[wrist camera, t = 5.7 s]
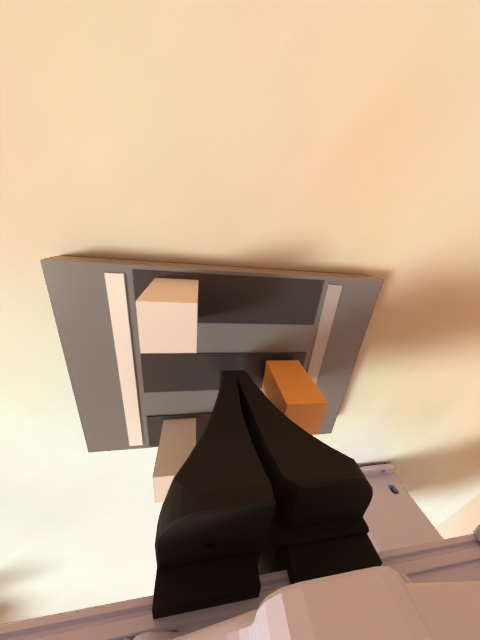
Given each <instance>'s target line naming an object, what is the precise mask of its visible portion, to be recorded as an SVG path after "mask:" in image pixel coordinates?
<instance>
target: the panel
mask: <svg viewBox="0 0 480 640" xmlns="http://www.w3.org/2000/svg"><path fill="white" fill-rule="evenodd" d="M40 261H41V265H42V269H43V273H44V277H45V281H46V285H47V289H48V293H49V297H50V301H51V305H52V309H53V313H54V317H55V321H56V325H57V328H58V332H59V336H60V340H61V344H62V348H63V352H64V356H65V360H66V364H67V368H68V372H69V376H70V380H71V384H72V388H73V392H74V396H75V400H76V404H77V408H78V412H79V416H80V420H81V424H82V428H83V432H84V436H85V440H86V444H87V448H88V452H98V451H111V450H124V449H137V448H149V447H158V452H157V457H156V462H155V468H154V473H153V487H154V497H155V502H163V501H164V500H165V497H166V495H167V492H168V490H169V488H170V485H171V483H172V480H173V478H174V476H175V475H176V474H177V472H178V471H179V469H180V468H181V467H182V465H183V464H184V462H185V461H186V459H187V458H188V456H189V455H190V453H191V452H192V450H193V448H194V447H195V445H196V443H197V442H198V440H199V438H200V436H201V434H202V432H203V430H204V429H205V427H206V424H207V422H208V420H209V418H210V415H211V413H212V411H213V408H214V405H215V402H216V399H217V396H218V392H219V383H220V372H221V371H223V370H245V371H246V372H247V374H248V375H249V376H250V378H251V379H252V380H253V381H254V383H255V384H256V385H257V386H258V388H259V389H260V390H261V391H262V392H263V389H262V385H263V378H264V372H265V366H266V360H299V362H300V363H301V365H302V366H303V367H304V369H305V370H306V372H307V373H308V375H309V376H310V377H311V379H312V380H313V382H314V383H315V384H316V386H317V387H318V389H319V390H320V391H321V393H322V394H323V396H324V397H325V399H326V400H327V401H328V405H327V408H326V411H325V415H324V418H323V421H322V424H321V428H320V431H319V434H327V433H331V432H332V429H333V426H334V423H335V420H336V417H337V415H338V412H339V409H340V406H341V403H342V400H343V397H344V394H345V391H346V388H347V385H348V382H349V379H350V376H351V373H352V371H353V368H354V365H355V362H356V359H357V356H358V353H359V350H360V347H361V344H362V341H363V338H364V335H365V332H366V330H367V327H368V324H369V321H370V318H371V315H372V312H373V309H374V306H375V303H376V300H377V297H378V294H379V291H380V288H381V286H382V283H383V280H381V279H377V278H374V277H371V276H368V275H357V274H341V273H326V272H310V271H294V270H279V269H263V268H247V267H232V266H216V265H200V264H185V263H169V262H154V261H138V260H122V259H107V258H91V257H75V256H60V255H59V256H55V257H50V258H46V259H41V260H40ZM263 393H264V392H263ZM310 435H314V434H310Z"/></svg>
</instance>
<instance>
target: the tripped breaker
mask: <svg viewBox="0 0 480 640" xmlns="http://www.w3.org/2000/svg"><path fill="white" fill-rule="evenodd" d="M262 389H263V392H264V395H265V396H266V397H267V398H268V399H269V400H270V401H271V402H272V403H273V404H274V405H275V406H276V407H277V408H278V409H279V410H280V411H281V412H282V413H283V414H284V415H286V416H287V417H288V418H289V419H290V420H292V421H293V422H294V423H295V424H297V425H298V426H299V427H301V428H302V429H303V430H305V431H306V432H308V433H309V434H319V431H320V428H321V424H322V421H323V418H324V415H325V411H326V408H327V405H328V401H327V400H326V399H325V397H324V396H323V394H322V393H321V391H320V390H319V389H318V387H317V386H316V384H315V383H314V382H313V380H312V379H311V377H310V376H309V375H308V373H307V372H306V370H305V369H304V367H303V366H302V365H301V363H300V362H299V360H266V366H265V372H264V378H263V385H262Z"/></svg>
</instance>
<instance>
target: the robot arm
mask: <svg viewBox="0 0 480 640" xmlns="http://www.w3.org/2000/svg"><path fill="white" fill-rule="evenodd" d="M395 469H396V468H395V466H394V465H393V464H381V465H372V466H363V467H359V466H358V465H357V463H356V462H355V461H354V459H352V458H350V457H348V456H346V455H344V454H342V453H340V452H339V451H337V450H335V449H333V448H331V447H329V446H328V445H326V444H325V443H323V442H321V441H320V440H318V439H316V438H315V437H313V436H312V435H310V434H309V433H308V432H306V431H305V430H303V429H302V428H301V427H299V426H298V425H297V424H295V423H294V422H293V421H292V420H290V419H289V418H288V417H287V416H286V415H284V414H283V413H282V412H281V411H280V410H279V409H278V408H277V407H276V406H275V405H274V404H273V403H272V402H271V401H270V400H269V399H268V398H267V397H266V396H265V395H264V393H263V392H262V391H261V390H260V389H259V388H258V386H257V385H256V384H255V383H254V381H253V380H252V379H251V378H250V376H249V375H248V374H247V372H246V371H245V370H223V371H221V372H220V383H219V392H218V396H217V399H216V402H215V405H214V408H213V411H212V413H211V415H210V418H209V420H208V422H207V424H206V427H205V429H204V430H203V432H202V434H201V436H200V438H199V440H198V442H197V443H196V445H195V447H194V448H193V450H192V452H191V453H190V455H189V456H188V458H187V459H186V461H185V462H184V464H183V465H182V467H181V468H180V469H179V471H178V472H177V474H176V475H175V476H174V478H173V480H172V483H171V485H170V488H169V490H168V492H167V495H166V497H165V500H164V503H163V506H162V509H161V512H160V515H159V520H158V525H157V533H156V540H155V551H156V560H157V573H156V581H155V589H154V595H153V596H148V597H142V598H137V599H132V600H127V601H122V602H116V603H111V604H106V605H101V606H96V607H90V608H85V609H80V610H75V611H70V612H64V613H59V614H54V615H49V616H44V617H38V618H33V619H28V620H23V621H18V622H12V623H7V624H2V625H0V640H480V525H479V526H478V527H477V528H476V529H475V530H474V533H473V534H470V535H465V536H460V537H455V538H449V539H443V538H442V537H441V536H440V534H439V533H438V531H437V530H436V529H435V527H434V526H433V525H432V524H431V522H430V521H429V520H428V518H427V517H426V516H425V514H424V513H423V512H422V510H421V509H420V508H419V507H418V505H417V504H416V503H415V501H414V500H413V499H412V497H411V496H410V495H409V494H408V492H407V491H406V490H405V488H404V487H403V486H402V484H401V483H400V482H399V480H398V479H397V478H396V477H395V475H394V474H393V473H394V471H395Z"/></svg>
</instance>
